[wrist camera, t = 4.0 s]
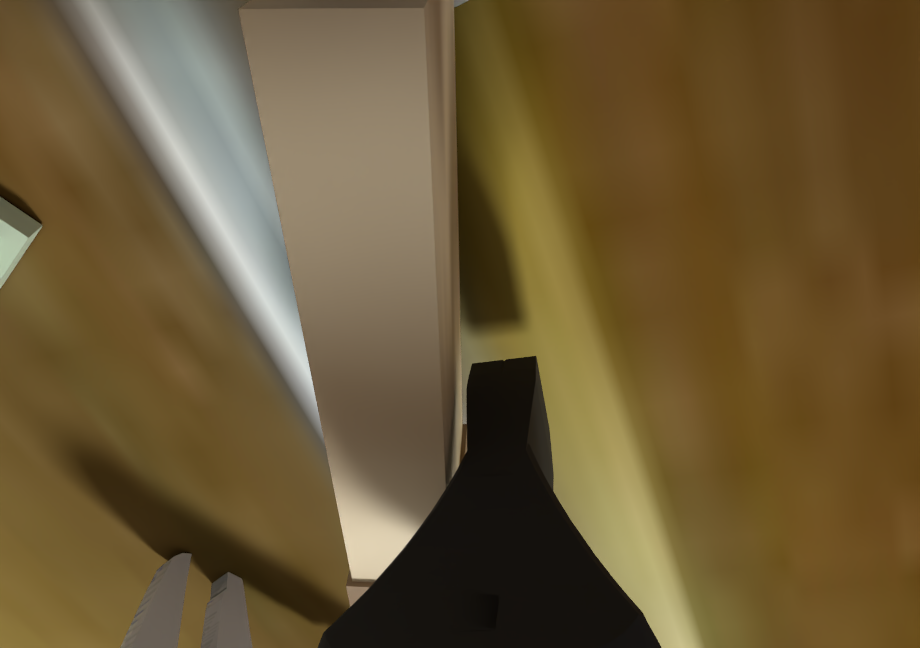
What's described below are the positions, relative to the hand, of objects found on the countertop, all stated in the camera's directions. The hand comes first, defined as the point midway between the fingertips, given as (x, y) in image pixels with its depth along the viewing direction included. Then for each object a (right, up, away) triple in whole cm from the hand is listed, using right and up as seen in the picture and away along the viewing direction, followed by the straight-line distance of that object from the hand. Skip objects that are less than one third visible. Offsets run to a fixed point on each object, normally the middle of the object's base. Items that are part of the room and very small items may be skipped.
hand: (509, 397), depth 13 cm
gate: (-2, +2, -1) cm, 3 cm away
